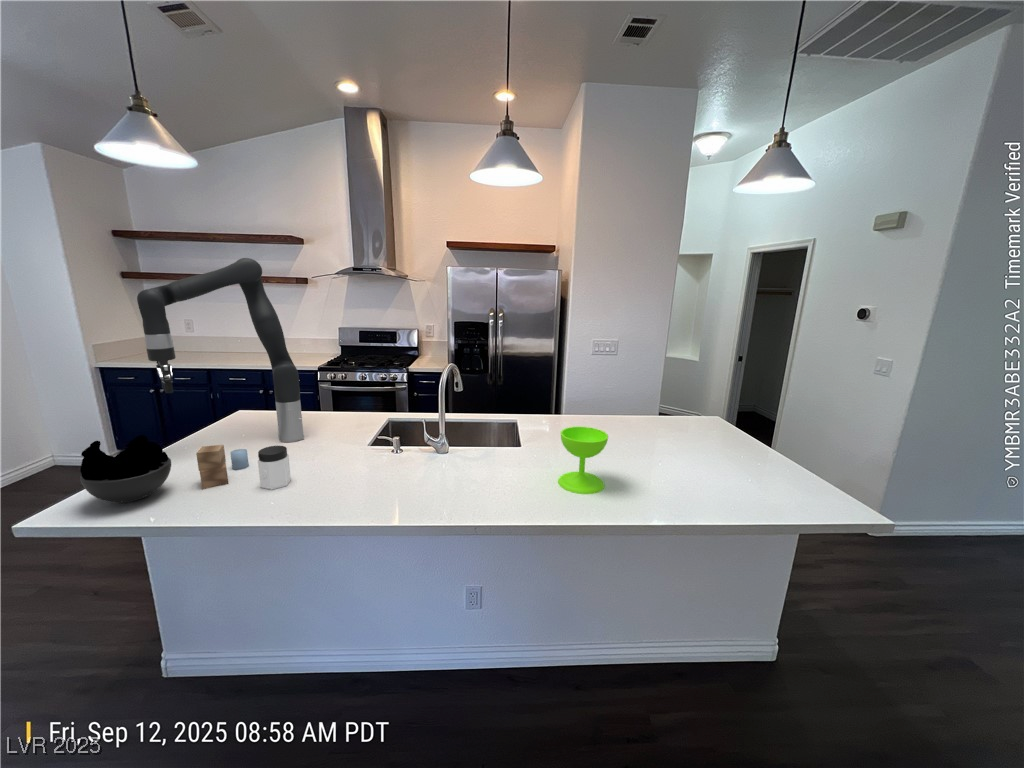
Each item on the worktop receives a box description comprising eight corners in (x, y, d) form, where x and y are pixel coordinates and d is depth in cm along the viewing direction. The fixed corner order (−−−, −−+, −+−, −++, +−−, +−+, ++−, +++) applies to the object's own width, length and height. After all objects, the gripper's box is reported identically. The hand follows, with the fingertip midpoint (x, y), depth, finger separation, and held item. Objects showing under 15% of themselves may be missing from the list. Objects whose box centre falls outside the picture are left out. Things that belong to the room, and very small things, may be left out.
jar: (254, 487, 134) (250, 452, 132) (275, 476, 142) (272, 443, 139) (276, 491, 132) (272, 456, 129) (296, 480, 139) (293, 447, 137)
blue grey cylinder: (249, 463, 152) (247, 448, 151) (248, 468, 148) (246, 452, 146) (233, 465, 150) (231, 450, 149) (231, 470, 146) (229, 454, 144)
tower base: (227, 476, 141) (225, 460, 140) (228, 484, 136) (226, 467, 135) (201, 481, 137) (199, 464, 136) (202, 489, 132) (199, 472, 130)
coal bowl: (192, 487, 133) (183, 432, 129) (123, 520, 113) (110, 456, 109) (142, 480, 137) (132, 426, 132) (67, 510, 117) (53, 448, 113)
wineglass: (567, 470, 154) (569, 423, 150) (609, 479, 146) (613, 431, 143) (550, 486, 140) (553, 436, 136) (596, 498, 133) (600, 445, 129)
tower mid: (225, 461, 139) (223, 444, 138) (221, 468, 134) (218, 450, 132) (204, 463, 137) (202, 446, 136) (198, 470, 131) (196, 453, 130)
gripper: (176, 347, 144) (184, 392, 148) (170, 343, 154) (178, 386, 158) (148, 349, 139) (156, 396, 143) (144, 345, 149) (152, 389, 152)
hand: (168, 390), depth 150 cm, fingers open, 8 cm apart
